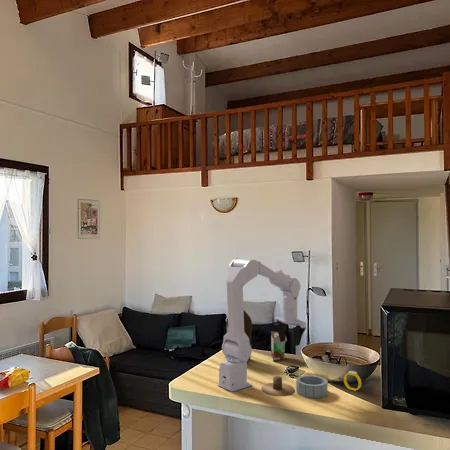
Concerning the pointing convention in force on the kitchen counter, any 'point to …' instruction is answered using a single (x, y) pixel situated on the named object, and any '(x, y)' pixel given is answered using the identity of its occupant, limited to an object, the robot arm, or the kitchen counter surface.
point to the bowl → (311, 386)
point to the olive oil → (246, 327)
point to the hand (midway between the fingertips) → (289, 343)
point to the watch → (355, 376)
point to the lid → (277, 388)
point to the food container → (277, 347)
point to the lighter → (325, 358)
